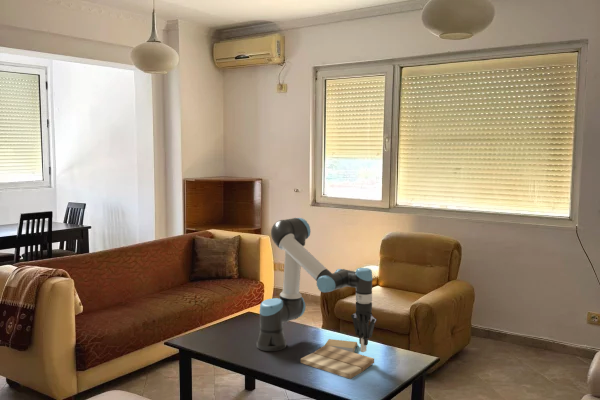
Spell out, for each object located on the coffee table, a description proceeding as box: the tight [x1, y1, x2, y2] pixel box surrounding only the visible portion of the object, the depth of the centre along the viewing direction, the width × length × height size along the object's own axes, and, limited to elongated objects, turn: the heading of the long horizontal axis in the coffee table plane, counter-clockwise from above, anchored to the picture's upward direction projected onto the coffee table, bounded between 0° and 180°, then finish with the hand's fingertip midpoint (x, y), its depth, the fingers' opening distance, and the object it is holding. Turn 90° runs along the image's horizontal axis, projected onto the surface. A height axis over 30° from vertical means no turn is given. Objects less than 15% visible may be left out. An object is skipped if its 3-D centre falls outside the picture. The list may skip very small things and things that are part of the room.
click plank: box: [312, 344, 375, 373], centre depth 249 cm, size 28×10×2 cm, turn 51°
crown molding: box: [324, 338, 358, 353], centre depth 264 cm, size 14×15×4 cm
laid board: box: [300, 352, 363, 380], centre depth 241 cm, size 28×9×2 cm, turn 51°
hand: (363, 351), depth 245 cm, fingers closed
